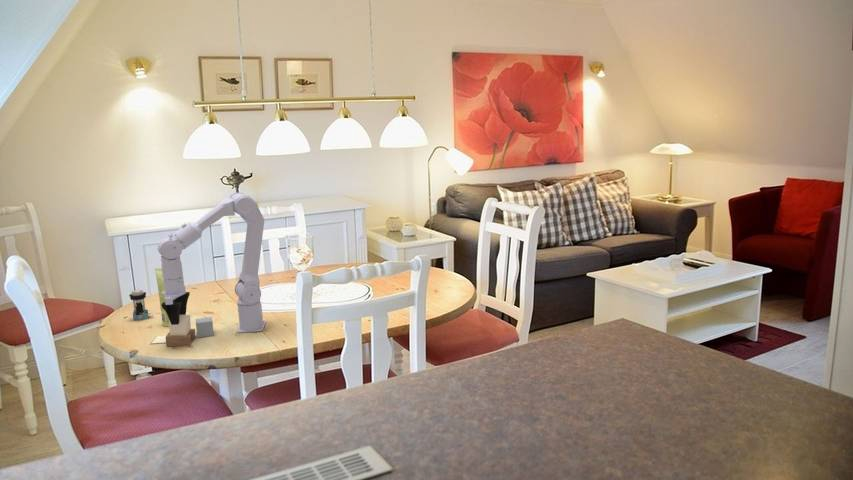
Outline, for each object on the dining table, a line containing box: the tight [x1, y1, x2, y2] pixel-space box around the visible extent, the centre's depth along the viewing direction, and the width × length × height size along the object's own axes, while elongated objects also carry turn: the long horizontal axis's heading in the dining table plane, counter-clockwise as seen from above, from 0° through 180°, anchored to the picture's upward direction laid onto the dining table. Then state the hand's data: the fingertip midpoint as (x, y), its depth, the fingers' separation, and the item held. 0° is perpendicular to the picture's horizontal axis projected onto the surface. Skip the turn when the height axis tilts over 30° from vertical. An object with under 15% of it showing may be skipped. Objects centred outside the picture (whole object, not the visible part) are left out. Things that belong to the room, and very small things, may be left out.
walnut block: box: [165, 328, 196, 347], centre depth 206 cm, size 7×7×3 cm
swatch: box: [149, 335, 167, 346], centre depth 209 cm, size 7×7×1 cm
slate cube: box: [195, 316, 215, 339], centre depth 212 cm, size 5×5×5 cm
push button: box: [128, 289, 154, 321], centre depth 230 cm, size 7×5×10 cm
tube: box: [154, 267, 169, 328], centre depth 222 cm, size 6×5×20 cm
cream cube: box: [168, 314, 192, 336], centre depth 205 cm, size 5×5×5 cm
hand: (178, 320), depth 205 cm, fingers open, 7 cm apart
